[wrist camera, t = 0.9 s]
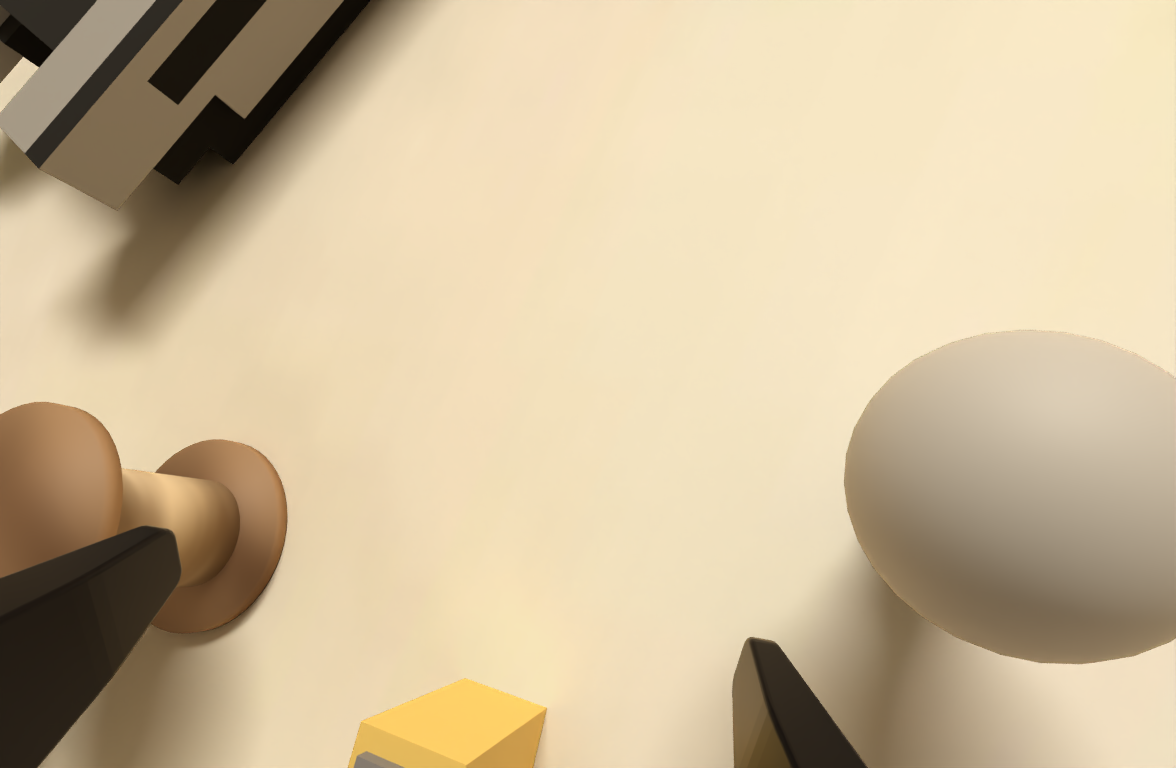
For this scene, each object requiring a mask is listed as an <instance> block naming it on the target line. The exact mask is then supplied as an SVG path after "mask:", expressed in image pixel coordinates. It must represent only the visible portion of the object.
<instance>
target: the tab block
mask: <svg viewBox="0 0 1176 768" xmlns="http://www.w3.org/2000/svg"><path fill="white" fill-rule="evenodd" d="M546 710H547V708H546V707H543V706H540V705H537V704H535V703H532V702H529V701H526V700H524V699H521V698H518V697H515V696H513V695H510V694H507V693H504V692H502V691H499V690H496V689H493V688H491V687H488V686H485V685H482V684H480V683H477V682H474V681H471V680H469V679H466V678H465V679H462V680H460V681H457V682H455V683H453V684H450V685H448V686H445V687H443V688H441V689H438V690H436V691H433V692H431V693H428V694H426V695H424V696H421V697H419V698H416V699H414V700H411V701H409V702H407V703H404V704H402V705H399V706H397V707H395V708H392V709H390V710H387V711H385V712H382V713H380V714H378V715H375V716H373V717H370V718H368V719H366V720H363V721H361V724H360V727H359V731H358V734H357V738H356V741H355V744H354V748H353V751H352V755H351V758H350V762H349V765H348V768H533V766H534V761H535V757H536V753H537V748H538V744H539V740H540V735H541V731H542V727H543V723H544V718H545V714H546Z"/></svg>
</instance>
